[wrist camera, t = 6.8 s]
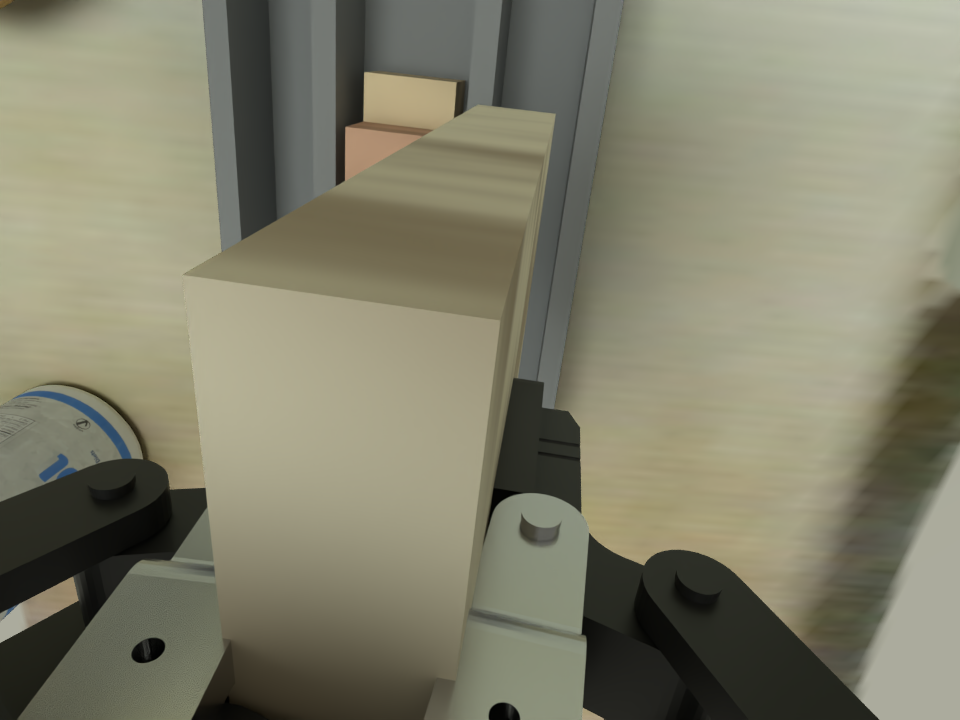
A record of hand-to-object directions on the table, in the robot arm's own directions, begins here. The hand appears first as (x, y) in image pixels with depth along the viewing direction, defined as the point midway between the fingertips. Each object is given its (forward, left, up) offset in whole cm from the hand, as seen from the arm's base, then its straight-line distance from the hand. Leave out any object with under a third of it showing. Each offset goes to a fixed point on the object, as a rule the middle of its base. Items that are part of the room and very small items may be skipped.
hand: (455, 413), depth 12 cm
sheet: (0, 0, -7) cm, 7 cm away
